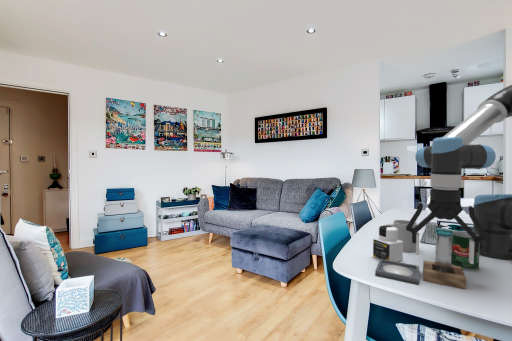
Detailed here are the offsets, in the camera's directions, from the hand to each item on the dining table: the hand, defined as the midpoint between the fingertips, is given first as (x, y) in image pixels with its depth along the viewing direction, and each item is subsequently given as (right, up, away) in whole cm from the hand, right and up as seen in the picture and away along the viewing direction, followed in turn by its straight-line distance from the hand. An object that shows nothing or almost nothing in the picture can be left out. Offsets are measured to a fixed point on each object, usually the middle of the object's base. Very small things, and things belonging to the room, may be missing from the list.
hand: (443, 258), depth 80 cm
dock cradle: (-12, -6, +4) cm, 14 cm away
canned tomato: (+14, -6, +10) cm, 19 cm away
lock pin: (0, -6, 0) cm, 6 cm away
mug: (+2, -5, +28) cm, 29 cm away
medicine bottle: (-9, -6, +16) cm, 19 cm away
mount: (0, -6, 0) cm, 6 cm away
